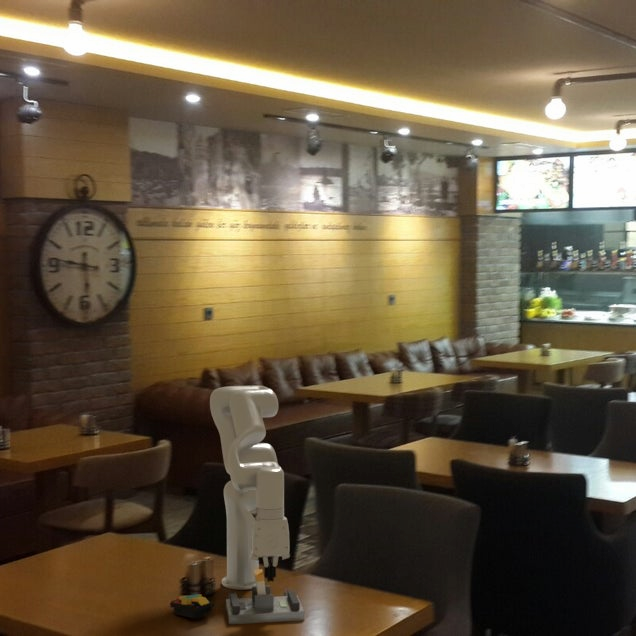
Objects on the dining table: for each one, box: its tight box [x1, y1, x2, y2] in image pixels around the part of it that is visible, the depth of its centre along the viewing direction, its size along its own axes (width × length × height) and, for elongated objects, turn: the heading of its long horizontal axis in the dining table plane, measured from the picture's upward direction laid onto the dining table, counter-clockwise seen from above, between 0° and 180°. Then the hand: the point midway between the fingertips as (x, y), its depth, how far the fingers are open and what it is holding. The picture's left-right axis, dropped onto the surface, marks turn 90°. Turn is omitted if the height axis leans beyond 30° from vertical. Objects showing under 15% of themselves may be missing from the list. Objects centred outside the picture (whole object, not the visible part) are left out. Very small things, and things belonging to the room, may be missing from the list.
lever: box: [254, 568, 266, 595], centre depth 260 cm, size 6×2×9 cm, turn 10°
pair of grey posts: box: [227, 589, 300, 613], centre depth 264 cm, size 18×18×4 cm
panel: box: [225, 585, 305, 625], centre depth 260 cm, size 13×20×6 cm, turn 100°
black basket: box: [169, 593, 215, 620], centre depth 258 cm, size 6×13×6 cm, turn 47°
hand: (270, 580), depth 260 cm, fingers closed
